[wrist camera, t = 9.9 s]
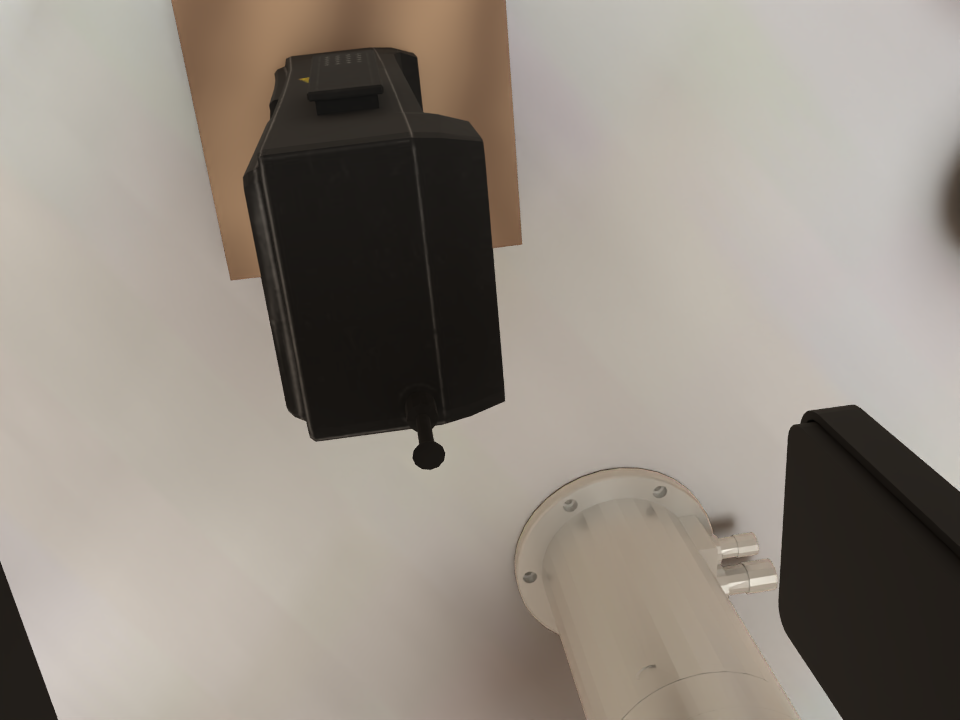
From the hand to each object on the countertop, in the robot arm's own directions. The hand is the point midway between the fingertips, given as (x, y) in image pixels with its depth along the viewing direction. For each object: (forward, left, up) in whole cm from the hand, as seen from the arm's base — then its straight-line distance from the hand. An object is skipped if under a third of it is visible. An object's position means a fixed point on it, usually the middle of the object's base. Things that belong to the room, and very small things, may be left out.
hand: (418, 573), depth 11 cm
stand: (0, -1, -36) cm, 36 cm away
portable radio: (+1, 0, -33) cm, 33 cm away
